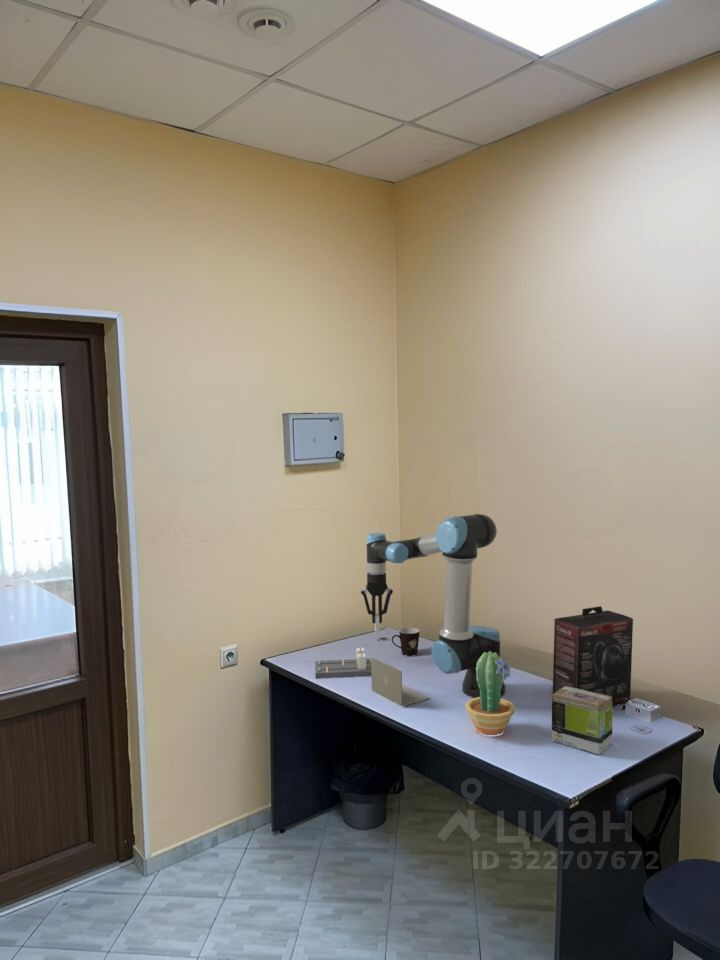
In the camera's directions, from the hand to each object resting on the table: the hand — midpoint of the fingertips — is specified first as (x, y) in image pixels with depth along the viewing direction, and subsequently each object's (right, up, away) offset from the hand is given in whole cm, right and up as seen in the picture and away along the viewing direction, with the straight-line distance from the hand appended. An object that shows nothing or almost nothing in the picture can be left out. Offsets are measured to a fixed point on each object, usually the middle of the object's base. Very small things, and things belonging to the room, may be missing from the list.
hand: (377, 630), depth 277 cm
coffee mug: (+12, -13, +15) cm, 24 cm away
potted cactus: (+34, -19, -59) cm, 71 cm away
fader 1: (-7, -12, 0) cm, 14 cm away
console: (-13, -15, -3) cm, 20 cm away
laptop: (+8, -17, -29) cm, 35 cm away
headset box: (+72, -16, -39) cm, 84 cm away
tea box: (+59, -19, -68) cm, 93 cm away
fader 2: (-6, -13, -7) cm, 16 cm away
